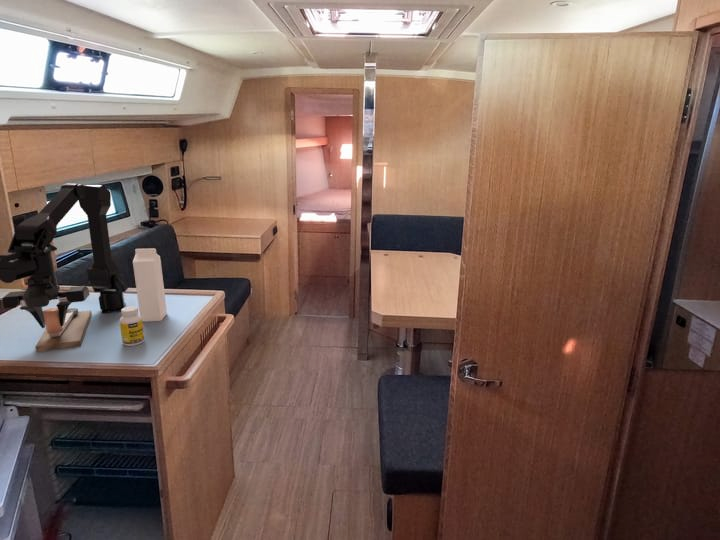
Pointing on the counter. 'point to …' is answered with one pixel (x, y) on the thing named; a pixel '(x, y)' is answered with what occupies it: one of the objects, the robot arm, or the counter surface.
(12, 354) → the counter surface
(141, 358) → the counter surface
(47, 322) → the lever
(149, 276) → the milk
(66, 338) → the light wooden base
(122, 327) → the supplement bottle
